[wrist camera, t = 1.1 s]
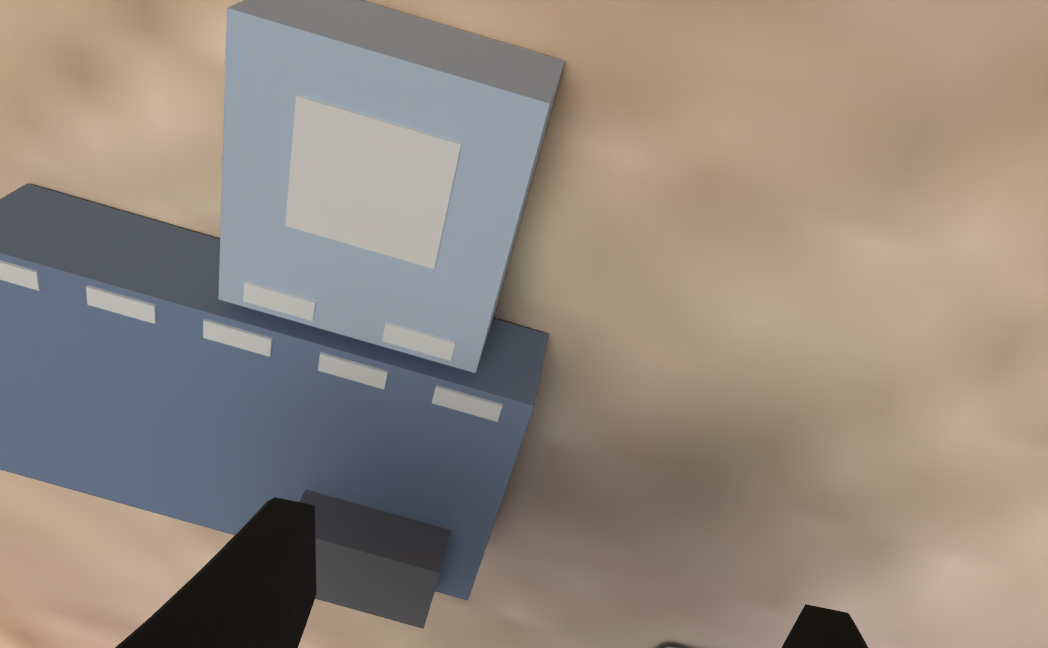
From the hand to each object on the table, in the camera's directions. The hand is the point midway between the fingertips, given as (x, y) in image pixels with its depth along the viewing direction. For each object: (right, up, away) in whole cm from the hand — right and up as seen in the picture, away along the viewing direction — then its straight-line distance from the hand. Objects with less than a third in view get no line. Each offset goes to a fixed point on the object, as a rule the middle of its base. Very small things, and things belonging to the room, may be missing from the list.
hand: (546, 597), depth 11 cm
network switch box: (-7, +3, +11) cm, 13 cm away
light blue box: (-3, +8, +7) cm, 11 cm away
